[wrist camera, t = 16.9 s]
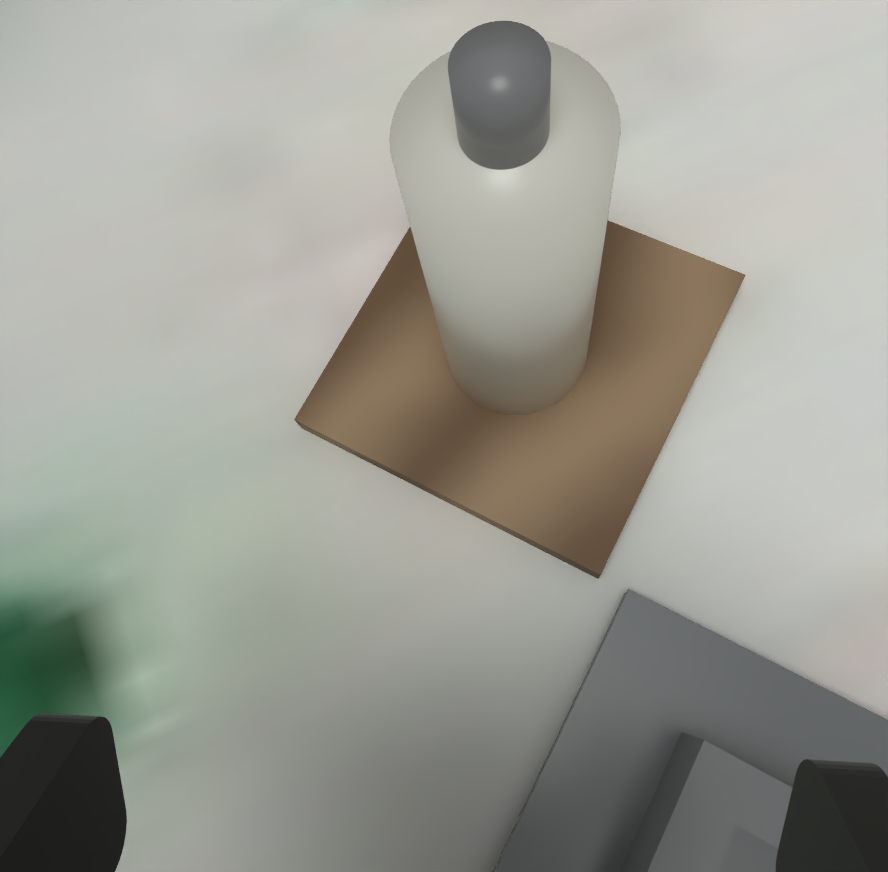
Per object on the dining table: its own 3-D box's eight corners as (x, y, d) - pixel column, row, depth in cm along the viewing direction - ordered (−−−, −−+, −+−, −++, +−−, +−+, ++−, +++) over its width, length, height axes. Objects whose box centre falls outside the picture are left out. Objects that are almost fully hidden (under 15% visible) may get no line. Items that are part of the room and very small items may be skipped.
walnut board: (301, 428, 30) (294, 419, 29) (453, 174, 32) (450, 158, 32) (598, 578, 27) (600, 575, 26) (738, 288, 30) (745, 275, 29)
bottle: (422, 378, 29) (325, 118, 16) (487, 266, 30) (448, -68, 17) (548, 438, 28) (558, 212, 14) (611, 319, 29) (674, 6, 16)
